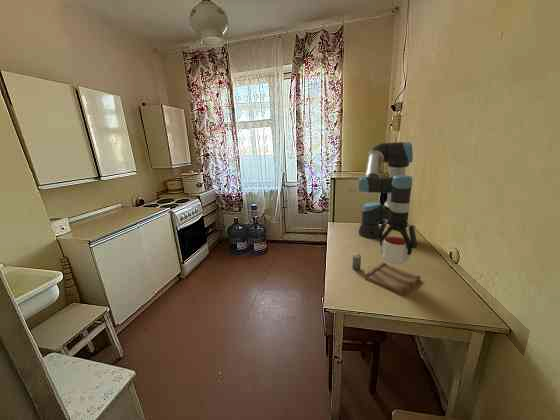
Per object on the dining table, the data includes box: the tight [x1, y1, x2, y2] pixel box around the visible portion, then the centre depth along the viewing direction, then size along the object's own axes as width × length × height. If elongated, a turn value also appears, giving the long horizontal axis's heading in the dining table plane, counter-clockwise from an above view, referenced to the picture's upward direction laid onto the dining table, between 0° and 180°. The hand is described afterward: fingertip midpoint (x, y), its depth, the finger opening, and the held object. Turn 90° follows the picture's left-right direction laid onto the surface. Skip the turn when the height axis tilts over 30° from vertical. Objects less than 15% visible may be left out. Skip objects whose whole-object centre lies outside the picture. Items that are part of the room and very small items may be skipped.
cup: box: [382, 236, 407, 265], centre depth 105 cm, size 10×10×10 cm
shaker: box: [351, 252, 362, 272], centre depth 118 cm, size 4×4×9 cm
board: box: [364, 262, 422, 297], centre depth 108 cm, size 18×18×2 cm
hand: (394, 256), depth 105 cm, fingers closed on cup, 10 cm apart
